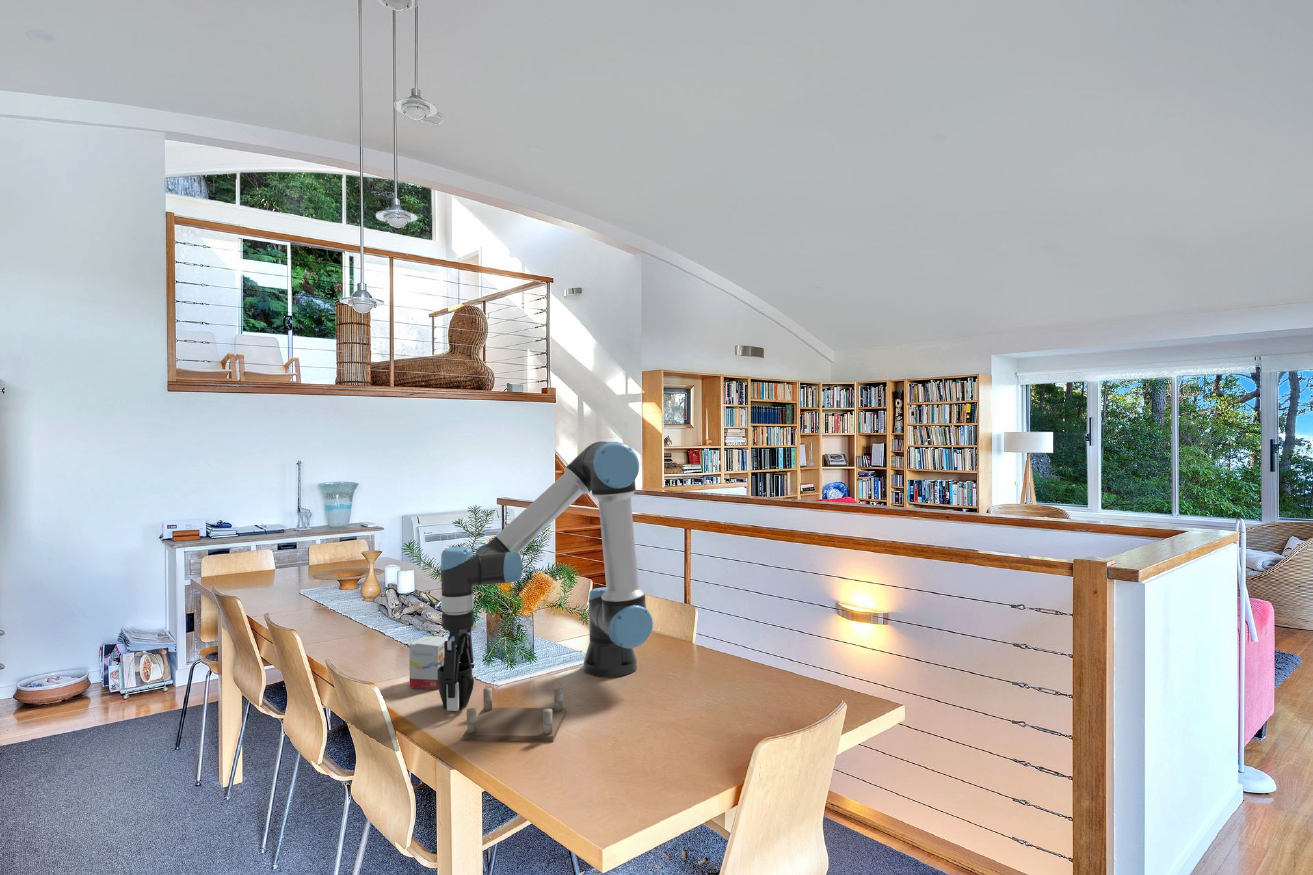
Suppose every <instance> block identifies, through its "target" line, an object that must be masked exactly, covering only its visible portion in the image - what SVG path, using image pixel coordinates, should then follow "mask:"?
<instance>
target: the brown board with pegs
mask: <svg viewBox="0 0 1313 875" xmlns="http://www.w3.org/2000/svg"><path fill="white" fill-rule="evenodd" d="M553 693H554V694H553V695H554V696H553V698H554V699H553V703H554V705H553V706H554V707H493V688H492V687H484V688H483V708H482V709H481V710H480V712H479V713H478V714H477V708H474V707H471V708H467V709H466V730H465V732H464V733H463V734H462V742H463V741H464V740H465V741H473V742H474V740H475V741H477V742H479V741H481V742H488V741H489V742H554V741H555V739H556V737H557V734H558V733H559V730H560V728H561V726H562V723H563V720H564V719H565V717H566V714H567V708H566V707H564V706H563V705H564V700H563V699H564V696H563V688H561V687H559V688H558V687H557V688H554V690H553Z"/></svg>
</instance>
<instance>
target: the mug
mask: <svg viewBox="0 0 1313 875" xmlns="http://www.w3.org/2000/svg"><path fill="white" fill-rule="evenodd" d="M443 671H444V665H443V666H441V667H439V668H438V670H437V675H438V688H439V689H438V691H439V697H440V699H441V702H442V705H443V709H444V710H446V711H447V684H442V681H443ZM449 679H450V678H449ZM457 683H459V710H462V709H464V708H466V707H467V706H468V705H469V702H470V699H471V696H472V692H473V691H474V690H473V689H474V684H475V682H474V677H473V668H472V666H471V665H470V664H468V663H460V662H459V669H458V678H457Z"/></svg>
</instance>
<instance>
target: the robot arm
mask: <svg viewBox="0 0 1313 875" xmlns="http://www.w3.org/2000/svg"><path fill="white" fill-rule="evenodd" d="M563 471H564V473H563V474H562V475H561V476H560V477H559V478H557V479H556V481H554V482H553V483H552V484H551V485H550V486H549V487H548V488H547V489H546V490H544V491H543V492H542V493H541V494H540V495H539V496H537V498H536V499H534V501H532V502H531V504H529V505H528V506H527V507H526V508H524V510H522V511H521V513H520V514H518V515H517V516H516V517H515V518H514V519H513V520H512V521H511V522H510V523H508V524H507V525H506V526H505V527H504V528H503V529H502V530H501V531H499V533H497V534H496V536H494V537H493V538H492V539H491V540H490V541H488V543H485V544H482V545H480V546H479V547H478V548H477V549H475V553H473V549H472V548H471V547H468V546H454V547H447V548H445V549H444V550H442V551H441V552H442V553H441V558H440V559H441V560H440V561H441V562H440V581H441V582H440V584H441V585H440V586H441V590H440V591H441V597H440V598H439V601H440V602H441V611H442V614H441V627H442V629H443V630H446V631H448V632H449V633H448V634H449V635H448V636H447V638H448V641H445V642H444V650H445V653H444V671H443V681H442V684H447V710H446V711H451V712H453V711H455V712H456V711H457V712H458V711H459V710H460V709H459V683H457V678H458V669H459V663H468V664H470V665H471V666H472V669H475V663H474V662H475V660H474V651H473V649H474V648H473V641H472V628H473V626H474V624H475V623H474V616H475V615H474V611H473V609H474V603H475V601H474V586H483V585H484V586H486V585H497V584H498V585H499V584H509V583H515V582H519V581H521V580H522V577H523V562H522V560H523V559H522V557H521V554H520V553H521V551H522V550H523V549H524V548H526V547H527V546H528V544H530V543H531V542H532V541H533V540H534V539H535V538H536V537H538V536H539V535H540V534H541V533H542V532H543V531H544V530H545V529H546V528H547V527H548V526H550V525H551V524H552V523H553V522H554V521H555V520H556V519H557V518H558V517H560V516H561V515H562V514H563V512H565V511H566V510H567V509H568V508H569V507H570V506H571V505H572V504H573V503H574V502H576V500H577V499H579V498H580V497H581V496H582V495H587V494H590V493H591V496H593V497H594V498H595V499H596V500H597V501H598V509H599V511H598V512H599V521H600V532H601V533H600V535H601V542H602V543H601V544H602V553H603V554H602V555H603V564H604V575H605V576H604V577H605V587H604V586H603V587H596V588H593V589H591V590H590V591H589V593H588V596H589V597H588V614H589V615H588V617H589V618H588V619H589V620H588V621H589V623H588V624H589V626H588V628H589V641H588V642H589V643H588V646H587V649H586V653H585V656H584V659H583V671H584V673H586V674H588V675H590V676H595V677H603V678H608V677H609V678H610V677H611V678H612V677H620V676H625V675H630V674H632V673H634V672H635V671H637V669H638V659H637V656H636V654H635V650H634V649H635V648H637V647H640V646H641V645H643V644H644V643H645V642H646V641H647V640H648V639H649V638H650V636H651V634H652V631H653V627H654V621H653V617H652V614H651V612H650V611H649V610H648V608H647V600H646V594H645V590H644V589H642V588H641V587H640V586H639V576H638V567H637V564H638V563H637V555H636V542H635V534H634V533H635V531H634V529H635V528H634V520H633V519H634V518H633V508H632V496H633V495H634V494H635V493H636V488H637V487H636V479H637V477H638V476H639V472H640V461H639V458H638V456H637V454H636V452H635V451H634V450H633V449H632V448H631V447H630V446H629V445H626V444H624V443H622V442H619V441H596V442H594V443H591V444H589V445H588V446H587V447H585V449H583V450H582V451H581V452H580V453H579V454H578V455H577V456H576V457H575V458H574V459H573V460H572V461H571V462H570V463H569V464H567V465H566V466H565V467H564V470H563ZM449 678H450V679H449Z"/></svg>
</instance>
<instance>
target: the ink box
mask: <svg viewBox="0 0 1313 875" xmlns="http://www.w3.org/2000/svg"><path fill="white" fill-rule="evenodd" d="M445 641H448V636H447V637H446V636H433V635H431V636H429V635H424V636H423V637H421V638H419V639H416V640H415V641H412V642H411V643H409V648H408V649H409V650H408V651H409V688H410V689H425V690H439V688H438V675H437V670H438V668H439V667H441V666H443V665H444V653H445V650H444V642H445Z"/></svg>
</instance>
